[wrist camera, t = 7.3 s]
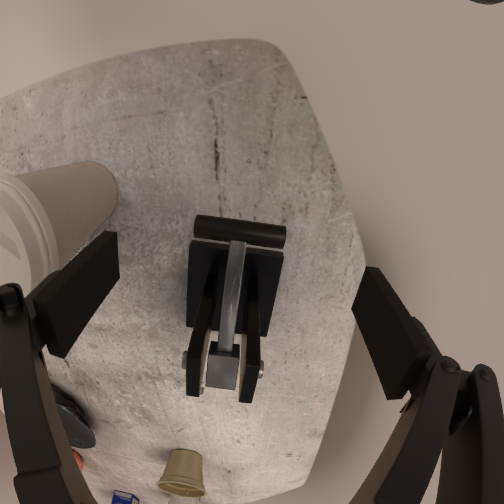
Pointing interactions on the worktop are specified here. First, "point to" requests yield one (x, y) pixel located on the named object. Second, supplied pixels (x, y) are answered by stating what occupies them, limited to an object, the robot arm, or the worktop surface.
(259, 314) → the lever bracket
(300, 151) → the worktop surface
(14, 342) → the robot arm
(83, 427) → the board
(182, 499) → the mug
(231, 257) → the press lever
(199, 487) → the flower pot
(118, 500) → the milk carton
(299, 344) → the worktop surface
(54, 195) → the coffee cup
